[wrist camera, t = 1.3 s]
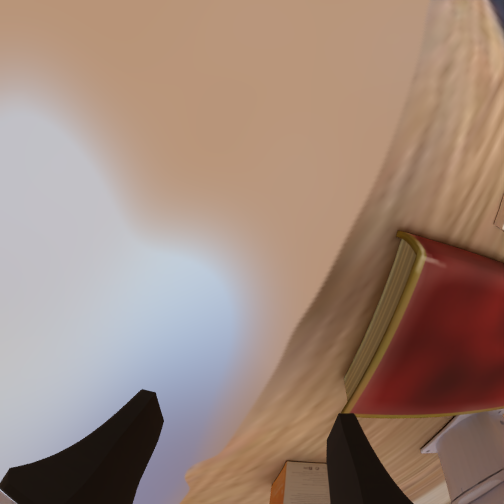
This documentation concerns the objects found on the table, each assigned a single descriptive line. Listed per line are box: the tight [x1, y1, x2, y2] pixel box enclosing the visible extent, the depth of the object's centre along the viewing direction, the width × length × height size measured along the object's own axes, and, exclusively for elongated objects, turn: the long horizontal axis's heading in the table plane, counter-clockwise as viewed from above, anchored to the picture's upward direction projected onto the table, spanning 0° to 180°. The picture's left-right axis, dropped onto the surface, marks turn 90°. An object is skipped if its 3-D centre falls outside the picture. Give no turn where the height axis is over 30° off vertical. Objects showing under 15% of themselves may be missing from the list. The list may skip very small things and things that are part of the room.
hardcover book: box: [341, 231, 504, 418], centre depth 15 cm, size 12×21×4 cm, turn 80°
